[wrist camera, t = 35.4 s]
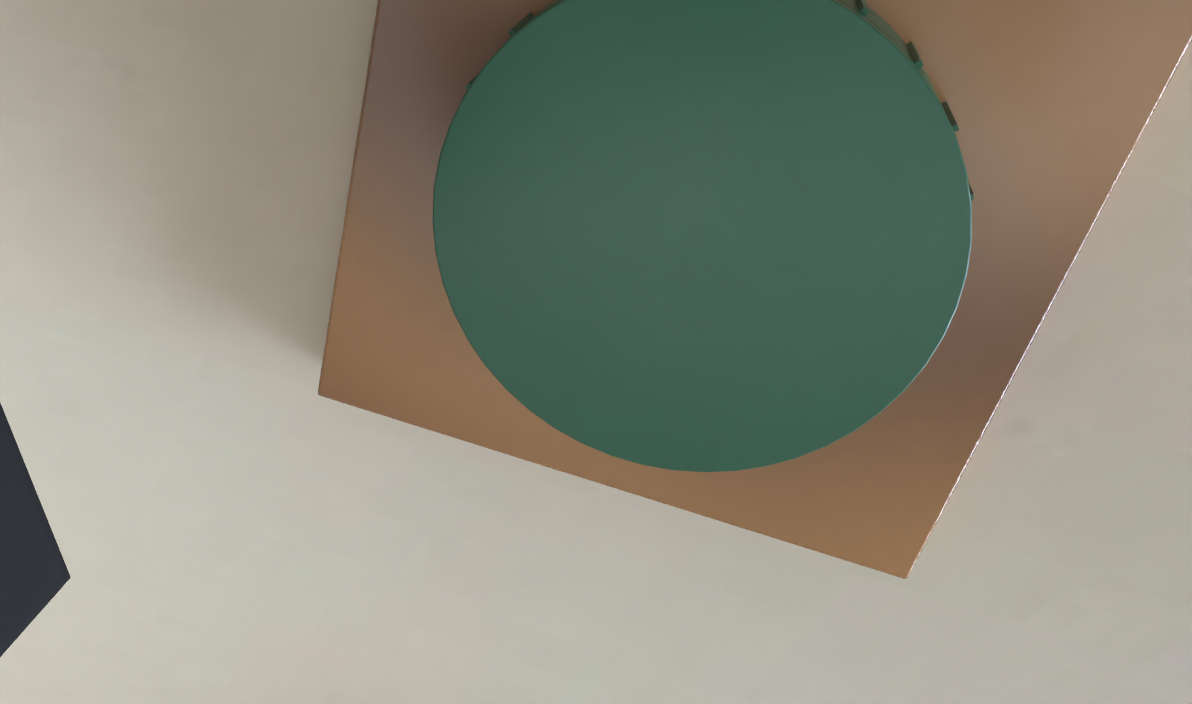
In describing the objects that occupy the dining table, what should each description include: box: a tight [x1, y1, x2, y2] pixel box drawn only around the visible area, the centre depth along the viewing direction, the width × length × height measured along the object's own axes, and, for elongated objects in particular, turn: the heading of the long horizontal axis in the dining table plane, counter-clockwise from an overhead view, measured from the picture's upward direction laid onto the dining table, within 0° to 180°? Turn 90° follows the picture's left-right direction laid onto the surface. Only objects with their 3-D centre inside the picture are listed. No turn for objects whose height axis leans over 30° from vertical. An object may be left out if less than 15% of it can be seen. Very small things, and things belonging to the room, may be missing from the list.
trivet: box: [318, 0, 1192, 578], centre depth 19 cm, size 12×12×1 cm
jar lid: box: [432, 0, 974, 472], centre depth 17 cm, size 8×8×2 cm
